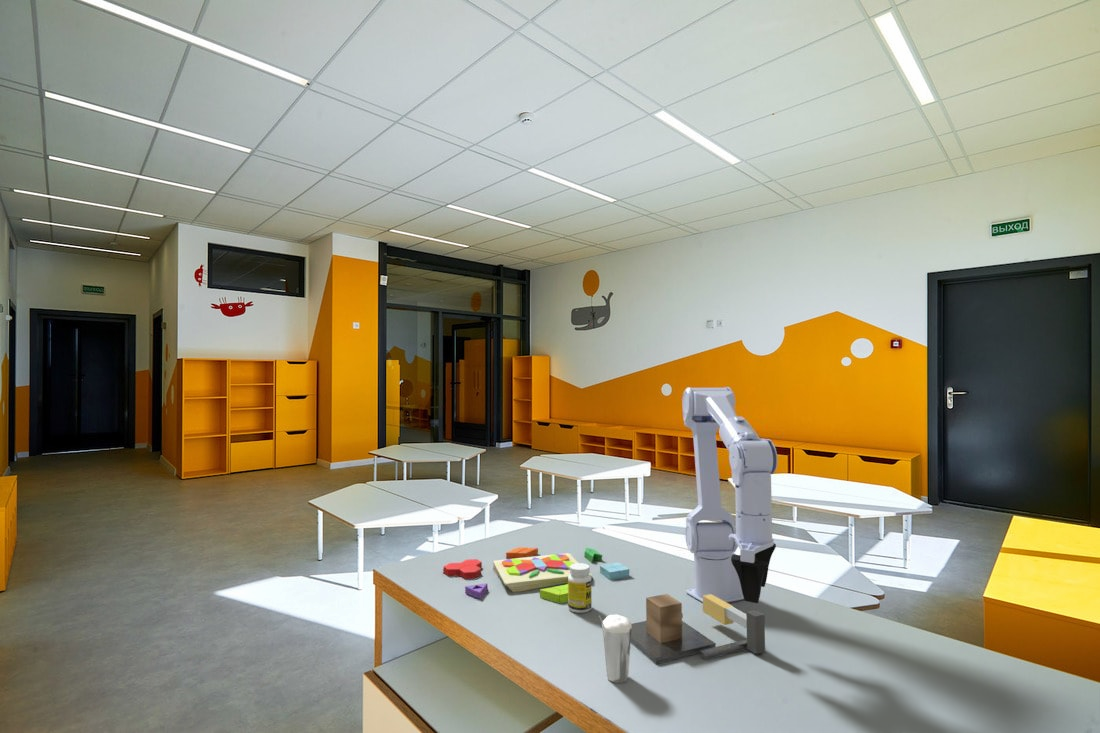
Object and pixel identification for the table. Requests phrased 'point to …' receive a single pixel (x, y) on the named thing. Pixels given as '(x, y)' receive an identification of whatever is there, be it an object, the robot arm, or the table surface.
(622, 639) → the milkshake
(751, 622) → the lever with yellow grip
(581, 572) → the supplement bottle
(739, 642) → the press base
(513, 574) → the pattern blocks set
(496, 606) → the table surface
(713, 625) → the table surface
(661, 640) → the brown rectangular block
